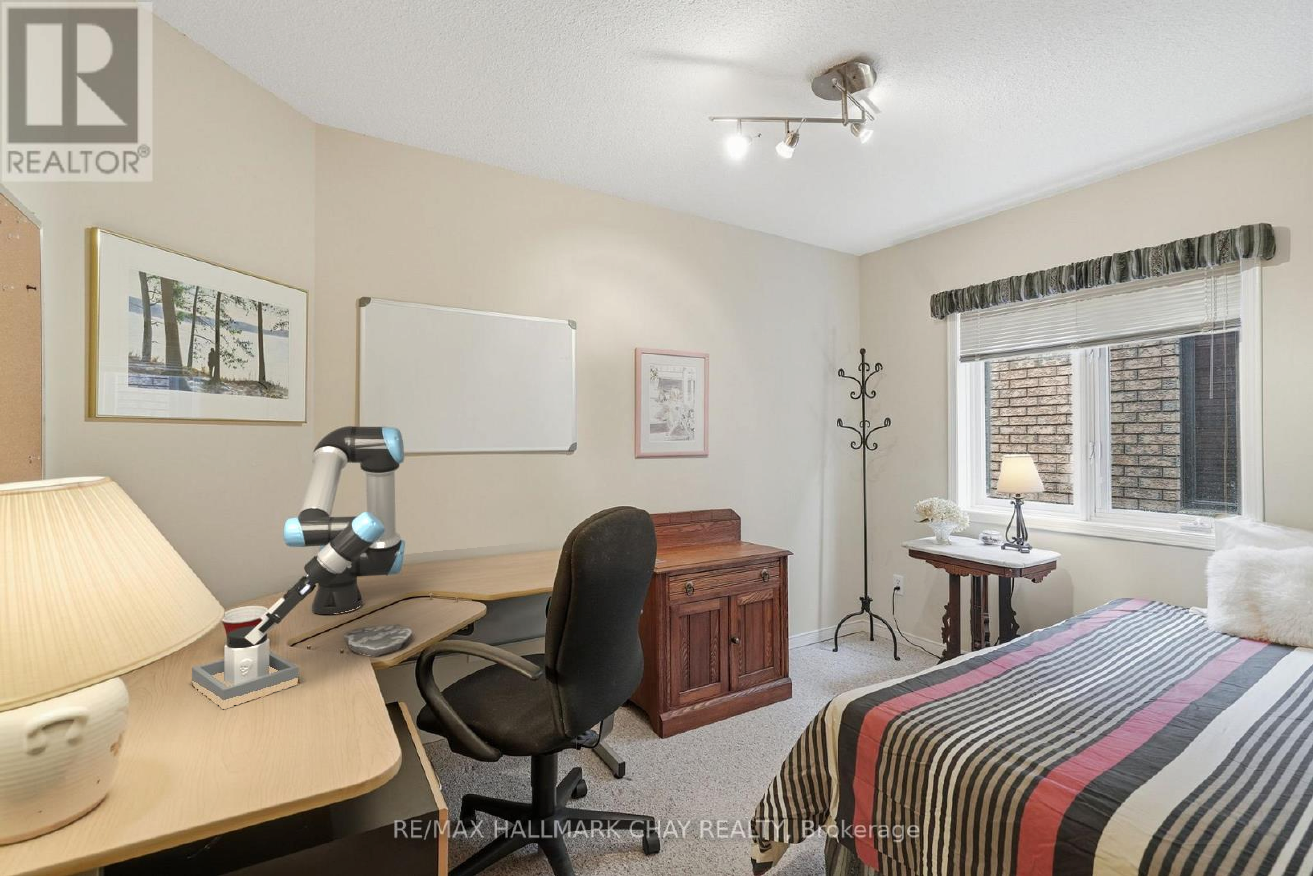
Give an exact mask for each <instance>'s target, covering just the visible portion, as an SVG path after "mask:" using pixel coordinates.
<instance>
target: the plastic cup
mask: <svg viewBox="0 0 1313 876" xmlns="http://www.w3.org/2000/svg"><path fill="white" fill-rule="evenodd" d="M268 610H269V608H267V607H266V606H261V605H246V606H241V607H240V606H239V607H237V608H232V609H229V610H227V611H225V617H224V618H223V619H222V620H220V621H221V622H222V624H223V627H224V630H225V635H226V637H227V634H228V633H229V632H231V631H233V630H236V629H239V628H243V627H249V626H257V625H258V624H260V623H261V622H262V621H263V620H262V619H261V618H260V617H261V616H262V615H263V614H264V613H265V612H266V611H268Z"/></svg>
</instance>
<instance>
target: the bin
mask: <svg viewBox="0 0 1313 876" xmlns="http://www.w3.org/2000/svg"><path fill="white" fill-rule="evenodd" d="M269 666H270V667H272V668H274V669H276V670H278V671H277V672H274V673H271V674H267V675H264V676H261V677H258V678H254V679H251V680H248V681H245V682H241V683H238V684H235V685H232V686H229V687H227V686H226V685H225V684H223V683H222V682H220V681H219V680H217V679H216V678H214V677H213V676H212V675H215V674H217V673H222V672H224V658H223V659H218V660H214V661H212V662H208V663H204V664H201V665H197V666H194V667H191V682H192V681H194V682H196V683H198V684H199V685H200V686H202V687H204V688H206V689H207V690H209V691H211V692H213V693H214V694H215V695H216V696H219V697H220V698H221V699H222V700H226V699H229V698H233V697H236V696H242V695H244V694H248V693H250V692H253V691H258V690H261V689H263V688H266V687H271V686H274V685H277V684H280V683H281V682H286V681H289V680H292V679H294V678H299V679H300V667H299V666H298V665H297V664H294V663H293V662H291V661H289V660H288V659H285V658H284V657H282V656H280V655H279V654H276V653H275V652H273V651H271V649H269Z"/></svg>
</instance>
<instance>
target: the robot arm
mask: <svg viewBox="0 0 1313 876" xmlns="http://www.w3.org/2000/svg"><path fill="white" fill-rule="evenodd" d="M311 461H312V464H313V467H312V470H311V472H310V476H309V480H308V483H307V485H306V490H305V493H304V496H303V499H302V503H301V505H300V509H299V513H298V517H297V516H296V517H292V518H291V517H290V518H288V519H287V520H286V521H285V523H284V527H283V541H284V543H285V545H286V546H287V547H293V548H295V547H296V548H305V547H319V548H318V552H317V555H315V556H313V557H312V558H311V559H310V560H309V561H308V562H307V563H305V564H304V565H303V569H304V572H305V573H306V575H303V576H301V578H299V580H298V581H297V582H296V583H295V584H294V585H293V586H292V587H291V588H290V589H288V590H287V592H286V593H285V594H284V595H283V596H282V597H280V598H279V599H278V601H276V602H275V603H273V604H272V606H270V607H269V608H268V611H266V612H265V613H264V614H263V615H262V616H261V617H260V618H261V619H262V620H263V621H262V622H261V623H260V624H258V625H257V626H256V627H255V628H254V629H253V630H252V631H251V632H250V633H249V634H248V635H247V636H245V638H246V639H247V640H248V641H250V642H251V643H253V644H254V645H255V644H256V643H257V642H258V641H259V640H260V639H261V638H262V637H263V636H264V635H265V634H266V633H267V634H268V633H269V632H270V631H271V630H272V629H273V628H274V627H275V626H276V625H278V624H280V623H281V621H283V619H284V618H285V617H286V616H287V615H288V614H289V613H290V612H291V611H292V610H293V609H294V608H295V607H296V606H297V605H298V604H299V603H300V602H302V601H303V600H304V599H305V598H306V597H307V596H308V595H310V594H312V592H313V591H314V590H315V588H316V587H317V590H316V592H315V595H314V599H313V601H312V603H311V611H312V613H313V612H314V613H313V614H315V613H317V614H316V615H319V614H334V613H341V612H345V611H349V610H352V609H356V608H357V607H359V606H361V605H362V606H363V596H362V594H361V591H360V588H359V585H358V577H371V576H374V577H375V576H376V577H377V576H391V575H392V576H393V575H398V574H400V572H401V571H402V569H403V568H402V566H403V562H404V561H403V560H404V553H405V548H406V547H405V546H406V541H405V540H403V539H401V535H400V533H398V532H397V531H396V529H397V527H396V487H395V486H396V485H395V484H396V479H395V478H396V476H395V472H396V471H397V470H398V469H399V468H400V464H402V463H404V461H405V448H404V440H403V435H402V433H401V431H400V429H399V428H397V427H389V426H353V425H352V426H351V425H348V426H343V427H340V428H337V429H335V430H332V431H331V432H329V433H328V434H326V435H325V436H324V437H323V438H321V440H320V441H319V442H318V443H317V444H316V446H315V447H314V448H313V453H312V456H311ZM348 463H352V464H354V463H355V464H360V466H359V467H360V470H361V471H363V472H364V473H365V485H366V487H365V488H366V491H365V492H366V511H364V512H362V513H361V514H359V515H357V516H354V515H353V516H352V515H351V516H332V512H333V509H334V502H335V500H336V499H335V498H336V495H337V491H338V486H339V482H340V478H341V474H342V469H344V468H345V467H346V466H347V464H348Z"/></svg>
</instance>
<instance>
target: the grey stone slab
mask: <svg viewBox="0 0 1313 876" xmlns="http://www.w3.org/2000/svg"><path fill="white" fill-rule="evenodd" d="M412 633H413V630H412V628H409V627H404V626H403V625H400V624H385V625H376V626H374V625H373V626H369V627H361V628H356V629H353V630H351V631H347V632H345V633H343V637H344V638H343V639H344V640H345V641H346V643H347V644H348V648H349V650H350V651H351V652H354V653H355V654H357V653H361V654H365V655H371V656H370V657H372V656H377V657H380V656H379V655H381V656H384V655H386V654H389V652H390V653H392V651H393V652H397V651H398V650H400V649H401V648H402V645H403V644H404V643H405V642H407V641H408V640H409V638H410V636H411V635H412ZM399 648H400V649H399ZM396 650H397V651H396ZM385 653H386V654H385ZM365 655H364V656H365Z"/></svg>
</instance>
